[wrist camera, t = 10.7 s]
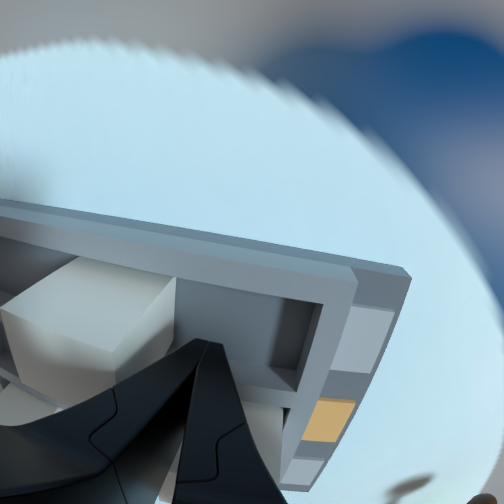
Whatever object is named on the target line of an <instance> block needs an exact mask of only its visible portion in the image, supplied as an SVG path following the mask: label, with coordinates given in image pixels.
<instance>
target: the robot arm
mask: <svg viewBox="0 0 504 504" xmlns="http://www.w3.org/2000/svg"><path fill="white" fill-rule="evenodd" d="M182 440H183V441H182ZM181 443H182V446H181V452H180V458H179V464H178V469H177V475H176V481H175V488H174V493H173V498H172V503H171V504H288V503H287V501H286V500H285V498H284V496H283V495H282V493H281V491H280V490H279V488H278V486H277V485H276V483H275V481H274V479H273V478H272V476H271V474H270V472H269V471H268V469H267V467H266V465H265V463H264V461H263V459H262V457H261V455H260V453H259V451H258V449H257V447H256V444H255V441H254V439H253V436H252V434H251V431H250V428H249V425H248V423H247V419H246V416H245V413H244V410H243V407H242V404H241V400H240V397H239V394H238V391H237V388H236V384H235V381H234V378H233V375H232V371H231V368H230V365H229V361H228V358H227V355H226V351H225V348H224V345H223V344H222V343H218V342H213V341H208V340H204V339H200V338H194V339H193V340H191V341H189V342H188V343H186V344H184V345H183V346H181V347H179V348H178V349H176V350H174V351H173V352H171V353H169V354H168V355H166V356H164V357H163V358H161V359H159V360H157V361H156V362H154V363H152V364H151V365H149V366H147V367H145V368H144V369H142V370H140V371H139V372H137V373H135V374H133V375H132V376H130V377H128V378H126V379H125V380H123V381H121V382H119V383H118V384H116V385H114V386H113V388H111V387H110V388H108V389H107V390H105V391H103V392H101V393H99V394H97V395H96V396H94V397H92V398H90V399H88V400H86V401H83V402H81V403H79V404H77V405H74V406H72V407H70V408H67V409H65V410H62V411H59V412H57V413H54V414H52V415H49V416H46V417H43V418H41V419H38V420H35V421H33V422H30V423H26V424H23V425H17V426H5V425H0V504H154V503H155V501H156V499H157V496H158V494H159V492H160V490H161V487H162V485H163V483H164V481H165V479H166V476H167V474H168V472H169V470H170V467H171V465H172V463H173V461H174V458H175V456H176V454H177V452H178V449H179V447H180V445H181Z"/></svg>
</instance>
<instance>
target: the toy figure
mask: <svg viewBox="0 0 504 504" xmlns="http://www.w3.org/2000/svg"><path fill="white" fill-rule="evenodd" d="M467 504H497V500H496V498H495V497H494V496H493V495H491V494H487V493H486V494H479V495H476V496H474V497H473V498H472V499H471V500H470V501H469V502H468V503H467Z"/></svg>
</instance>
